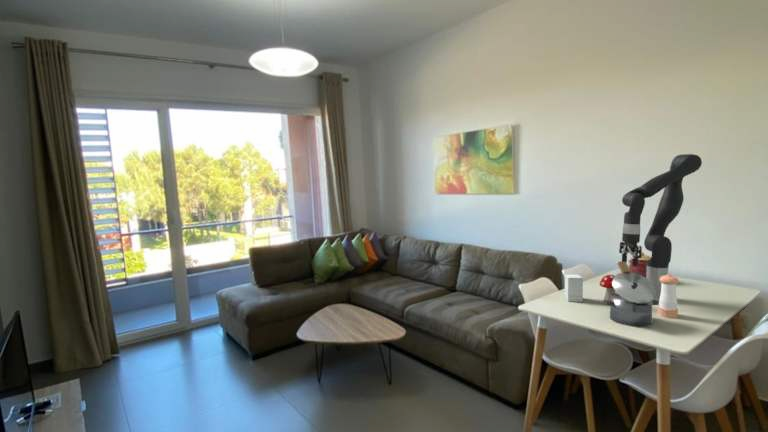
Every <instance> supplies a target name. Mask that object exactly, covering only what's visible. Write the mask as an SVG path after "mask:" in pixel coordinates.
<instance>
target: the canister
mask: <svg viewBox="0 0 768 432" xmlns="http://www.w3.org/2000/svg"><path fill="white" fill-rule="evenodd" d="M634 256H635V255H634ZM638 256H639V254H638ZM632 259H633V257H632V255H631V256H630V259H629V260H628V262H629V265H628V268H629V270H630V272H632V273H636V274H639V275H642V276H643V277H645V278H646V273H647V260H648V259H651V256H650V255H647V254H645V253H644V251H642V255H641V258H639V259H638V264H637V266H632Z"/></svg>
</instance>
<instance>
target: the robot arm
mask: <svg viewBox="0 0 768 432" xmlns="http://www.w3.org/2000/svg"><path fill="white" fill-rule="evenodd" d="M702 163H703V162H702V158H701V157H700V156H699V155H698V154H693V153H688V154H687V153H686V154H685V153H684V154H678V155H676V156H675V157H674V158H672V161H671V162H670V167H669V170H668V171H666V172H664V173H661V174H659V175H656V176H655V177H652V178H650V179H649V180H648V181H646V182H645V183H643V184H642V185H640V186H639V187H635V188H634V189H632V190H630V191H628V192H626V193H625V194H624V195H623V197H622V199H621V202H622V204H623V205H624V206H625V207H629V209H628V211H626V212H625V213H624V216H623V225H622V237H621V238H622V239H621V241H620V242H619V247H618V248H619V249H618V252H619V254H621V262H626V263H627V262H628V254H630V255H631V256H632V257H633V259H632V266H637V264H638V259H639V258H641V255H642V252H643V251H642V248H643V247H642V245H638V243H640V239H641V215H642V214H643V210H644V207H645V204H646V199H647V198H651V197H653V196H655V195H656V194H658V193H659V192H661V191H662V190H663V189H664V190H663V192H662V195H661V198H660V200H659V203H658V207H657V209H656V212H655V215H654V218H653V221H652V224H651V227H649V229H648V233H647V235H646V236H645V239H644V242H643V243H644V244H643V245H644V248H645V249H646V250H647V251H649V252H651V256H650V257H651V259H648V260H647V273H646V278H647V279H648V280H649V281H650V282H651V283H652V284H653V285H654V287H655V290H656V294H655V297H654V298H653V300H656V301H658V302H659V299H660V295H661V284H662V283H661V282H660V280H659V279H660V277H661V276H664V275H667V274H669V264H670V263H671V259H672V252H673V251H672V245H673V244H672V240H671V239H670V238H669V237H667V236H665V234H666V231H667V228H668V227H669V226H670V224H671V223H672V222H673V221H674V220H675V219H676V218H677V217H678V216H679V214H680V212H681V208H682V205H683V203H684V193H683V180H684V178H685V177H687V176H689V175H691V174H693V173H695V172H697V171H699V170H700V168H701V167H702V165H703V164H702ZM634 255H635V256H634ZM638 255H639V256H638Z"/></svg>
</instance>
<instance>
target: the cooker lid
mask: <svg viewBox="0 0 768 432" xmlns="http://www.w3.org/2000/svg"><path fill="white" fill-rule="evenodd" d="M617 266H618V267H619V269H620V272H619V273H617V274H616V275H614V276H615V277H614V279H613V281H612V287H613V289H614V291H615V293H617V294H618V295H619V296H620V297H621V298H623V299H624V300H626V301H629V302H632V303H636V305H647V303H649V302H650V301H652V300H653V298H654V297H655V294H656V290H655V287H654V285H653V284H652V283H651V282H650V281H649V280H648V279H647V278H645V277H643V276H642V275H639V274H636V273H632V272H630V270H629V265H628V264H627V262H622V261H617Z"/></svg>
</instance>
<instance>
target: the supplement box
mask: <svg viewBox="0 0 768 432" xmlns="http://www.w3.org/2000/svg"><path fill="white" fill-rule="evenodd" d="M583 290H584V278H583V277H582V276H581V275H580V274H564V299H566V301H567V302H575V303H576V302H577V303H578V302H580V303H581V302H584V301H583V300H584V295H583V293H584V291H583Z"/></svg>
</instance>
